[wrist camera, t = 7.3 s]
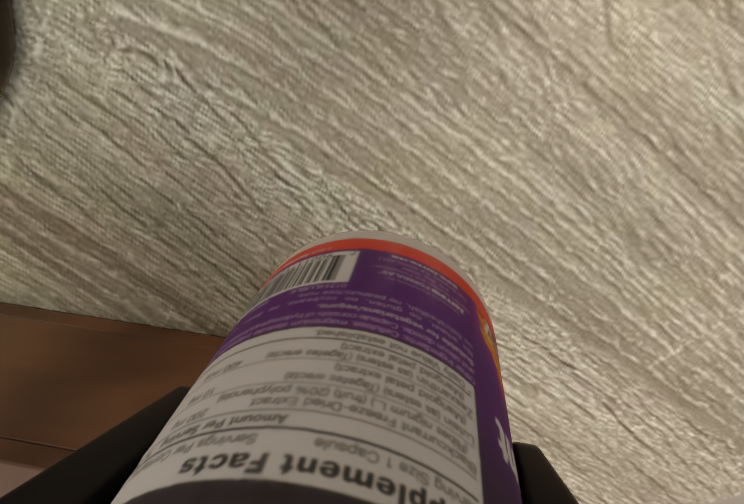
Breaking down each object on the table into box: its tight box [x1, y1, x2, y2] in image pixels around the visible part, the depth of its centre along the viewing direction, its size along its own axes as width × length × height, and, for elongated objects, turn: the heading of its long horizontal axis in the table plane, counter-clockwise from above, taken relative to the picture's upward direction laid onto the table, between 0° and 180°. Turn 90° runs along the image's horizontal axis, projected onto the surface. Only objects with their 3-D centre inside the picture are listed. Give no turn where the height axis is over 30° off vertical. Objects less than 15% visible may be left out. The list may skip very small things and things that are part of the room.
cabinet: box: [0, 303, 226, 497], centre depth 20 cm, size 13×12×7 cm
